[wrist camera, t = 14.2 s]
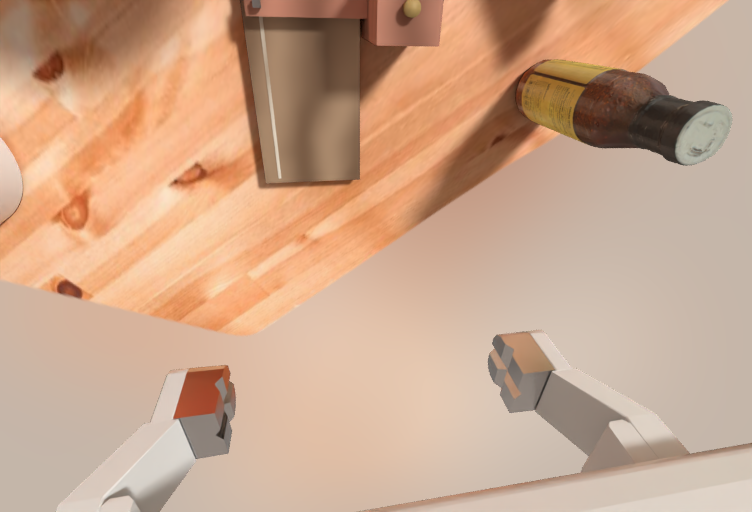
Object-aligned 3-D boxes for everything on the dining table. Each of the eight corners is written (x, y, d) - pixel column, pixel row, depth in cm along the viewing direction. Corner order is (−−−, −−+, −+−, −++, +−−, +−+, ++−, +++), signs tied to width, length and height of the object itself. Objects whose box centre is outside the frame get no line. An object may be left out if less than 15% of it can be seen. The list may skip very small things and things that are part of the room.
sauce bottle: (533, 130, 44) (671, 206, 28) (501, 93, 41) (634, 153, 25) (580, 82, 42) (759, 134, 26) (550, 40, 39) (731, 68, 23)
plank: (266, 177, 42) (265, 183, 41) (229, -91, 30) (226, -95, 29) (357, 174, 43) (359, 179, 42) (357, -83, 31) (360, -86, 30)
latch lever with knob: (252, 35, 35) (240, 45, 27) (243, -34, 32) (226, -44, 25) (413, 38, 37) (442, 47, 30) (418, -27, 34) (450, -34, 27)
